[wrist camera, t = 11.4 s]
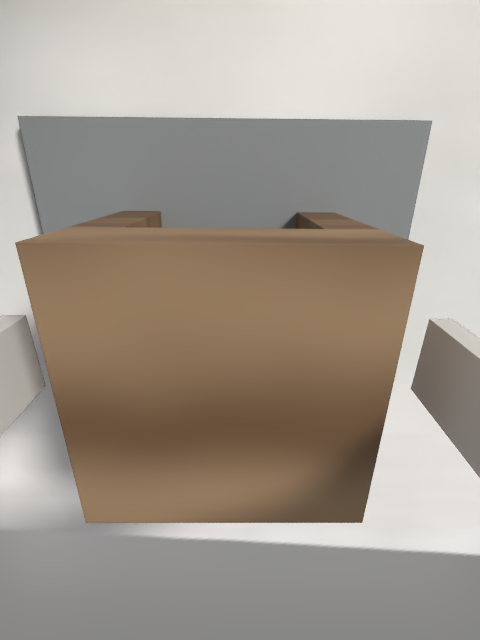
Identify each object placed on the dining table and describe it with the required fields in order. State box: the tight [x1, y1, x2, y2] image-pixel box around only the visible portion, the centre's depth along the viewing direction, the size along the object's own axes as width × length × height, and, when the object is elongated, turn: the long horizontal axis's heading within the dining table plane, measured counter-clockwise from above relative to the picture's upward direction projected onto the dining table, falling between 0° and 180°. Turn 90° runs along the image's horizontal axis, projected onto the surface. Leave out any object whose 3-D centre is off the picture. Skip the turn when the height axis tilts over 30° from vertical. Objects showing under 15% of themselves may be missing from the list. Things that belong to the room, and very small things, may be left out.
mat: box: [18, 116, 432, 240], centre depth 16 cm, size 16×16×1 cm
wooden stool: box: [15, 211, 424, 523], centre depth 13 cm, size 9×9×8 cm
